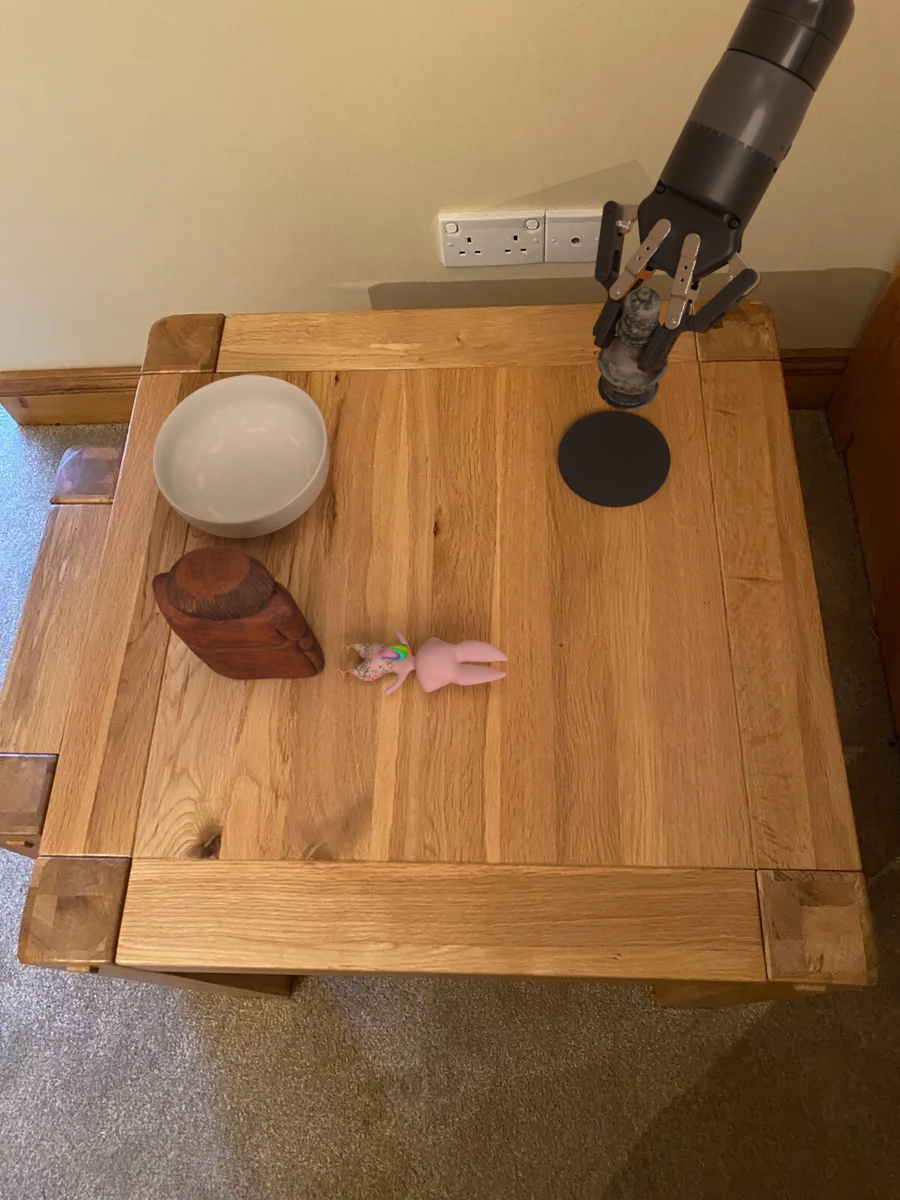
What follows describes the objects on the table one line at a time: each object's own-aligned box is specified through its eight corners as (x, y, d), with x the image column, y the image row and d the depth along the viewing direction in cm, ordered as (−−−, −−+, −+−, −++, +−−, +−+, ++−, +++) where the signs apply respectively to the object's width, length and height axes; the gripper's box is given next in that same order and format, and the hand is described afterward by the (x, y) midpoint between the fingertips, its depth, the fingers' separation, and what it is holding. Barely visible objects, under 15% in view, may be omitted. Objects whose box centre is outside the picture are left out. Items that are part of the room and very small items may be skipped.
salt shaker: (581, 377, 78) (591, 276, 68) (638, 349, 79) (657, 246, 68) (617, 424, 76) (633, 328, 65) (675, 395, 77) (701, 296, 66)
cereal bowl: (308, 574, 85) (291, 539, 78) (151, 540, 88) (122, 503, 81) (361, 431, 91) (349, 387, 85) (213, 403, 94) (191, 359, 88)
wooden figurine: (332, 620, 83) (288, 526, 66) (328, 685, 80) (280, 604, 64) (209, 621, 84) (134, 529, 67) (200, 686, 81) (120, 606, 65)
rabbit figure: (345, 701, 81) (507, 707, 77) (322, 679, 76) (494, 683, 72) (356, 637, 83) (513, 640, 80) (334, 612, 78) (501, 613, 74)
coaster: (640, 400, 91) (641, 396, 90) (689, 485, 86) (690, 481, 86) (540, 435, 90) (541, 431, 89) (585, 522, 85) (585, 519, 85)
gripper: (636, 89, 63) (532, 317, 71) (816, 168, 59) (684, 402, 67) (666, 114, 70) (568, 321, 77) (830, 187, 65) (708, 398, 73)
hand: (622, 357), depth 72 cm, fingers closed on salt shaker, 3 cm apart
